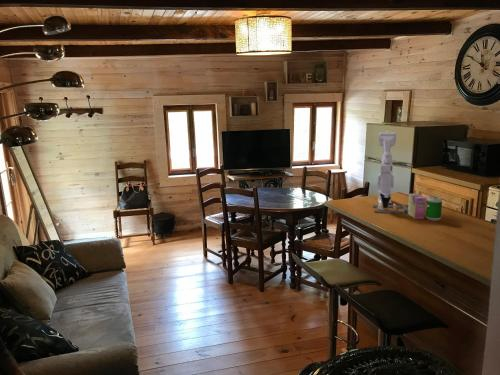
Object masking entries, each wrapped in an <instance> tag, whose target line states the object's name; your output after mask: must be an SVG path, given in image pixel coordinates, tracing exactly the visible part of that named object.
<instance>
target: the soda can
mask: <svg viewBox="0 0 500 375" xmlns="http://www.w3.org/2000/svg"><path fill="white" fill-rule="evenodd" d="M442 209H443V199H442V198H441V197H440V196H428V198H426V207H425V218H426V219H427V220H429V221H432V222H433V221H434V222H435V221H436V222H437V221H440V220H441V219H442V211H443V210H442Z"/></svg>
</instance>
